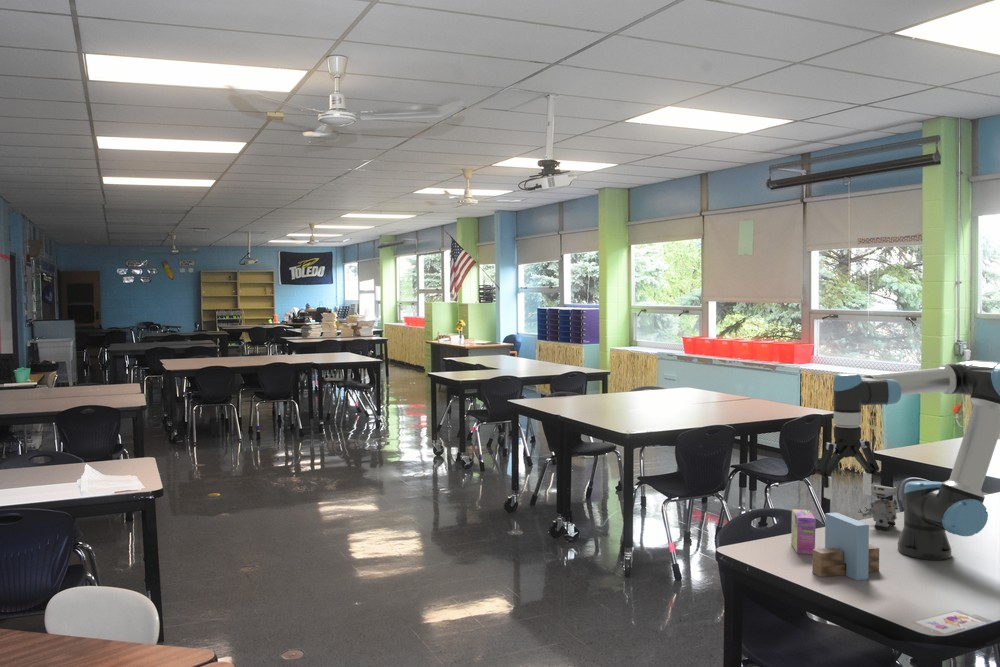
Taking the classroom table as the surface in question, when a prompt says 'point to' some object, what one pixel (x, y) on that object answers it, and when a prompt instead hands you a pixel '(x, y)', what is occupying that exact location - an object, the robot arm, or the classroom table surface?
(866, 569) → the board
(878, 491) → the figurine
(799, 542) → the box
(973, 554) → the classroom table surface
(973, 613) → the classroom table surface
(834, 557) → the rail
